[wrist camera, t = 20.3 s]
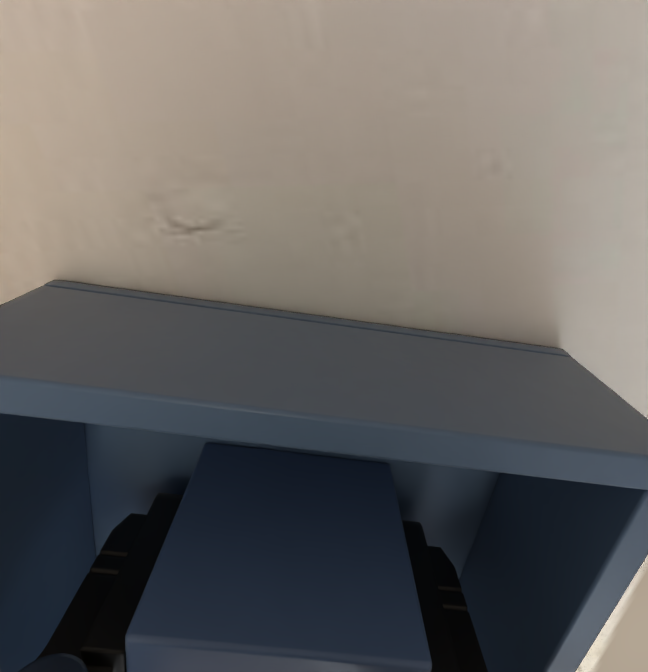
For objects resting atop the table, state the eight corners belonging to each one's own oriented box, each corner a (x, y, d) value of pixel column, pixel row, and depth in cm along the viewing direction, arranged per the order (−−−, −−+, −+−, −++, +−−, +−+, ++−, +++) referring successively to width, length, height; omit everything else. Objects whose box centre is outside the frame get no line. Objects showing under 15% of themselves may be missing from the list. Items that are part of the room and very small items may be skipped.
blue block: (205, 440, 10) (122, 638, 6) (390, 462, 10) (435, 667, 6) (199, 571, 12) (131, 796, 8) (358, 588, 12) (376, 814, 8)
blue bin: (54, 279, 9) (-127, 361, 5) (563, 348, 10) (706, 464, 6) (90, 623, 13) (4, 796, 10) (439, 655, 14) (479, 829, 10)
